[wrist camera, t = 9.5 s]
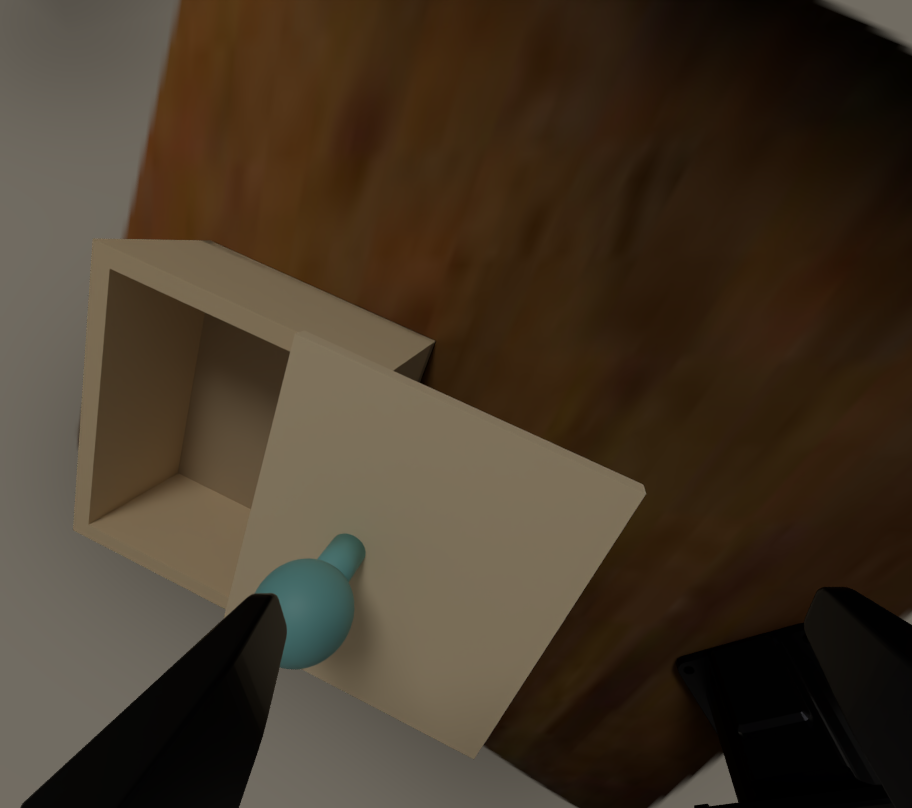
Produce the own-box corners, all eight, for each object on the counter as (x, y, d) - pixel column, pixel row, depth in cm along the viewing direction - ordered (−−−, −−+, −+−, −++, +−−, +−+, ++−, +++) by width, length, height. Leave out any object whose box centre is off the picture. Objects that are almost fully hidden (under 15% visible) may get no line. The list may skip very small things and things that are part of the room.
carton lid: (643, 484, 15) (680, 605, 10) (476, 745, 20) (445, 910, 15) (304, 330, 16) (181, 368, 11) (230, 617, 22) (125, 732, 16)
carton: (435, 341, 22) (388, 373, 16) (352, 563, 27) (295, 645, 21) (210, 240, 23) (92, 238, 17) (172, 473, 28) (73, 530, 22)
